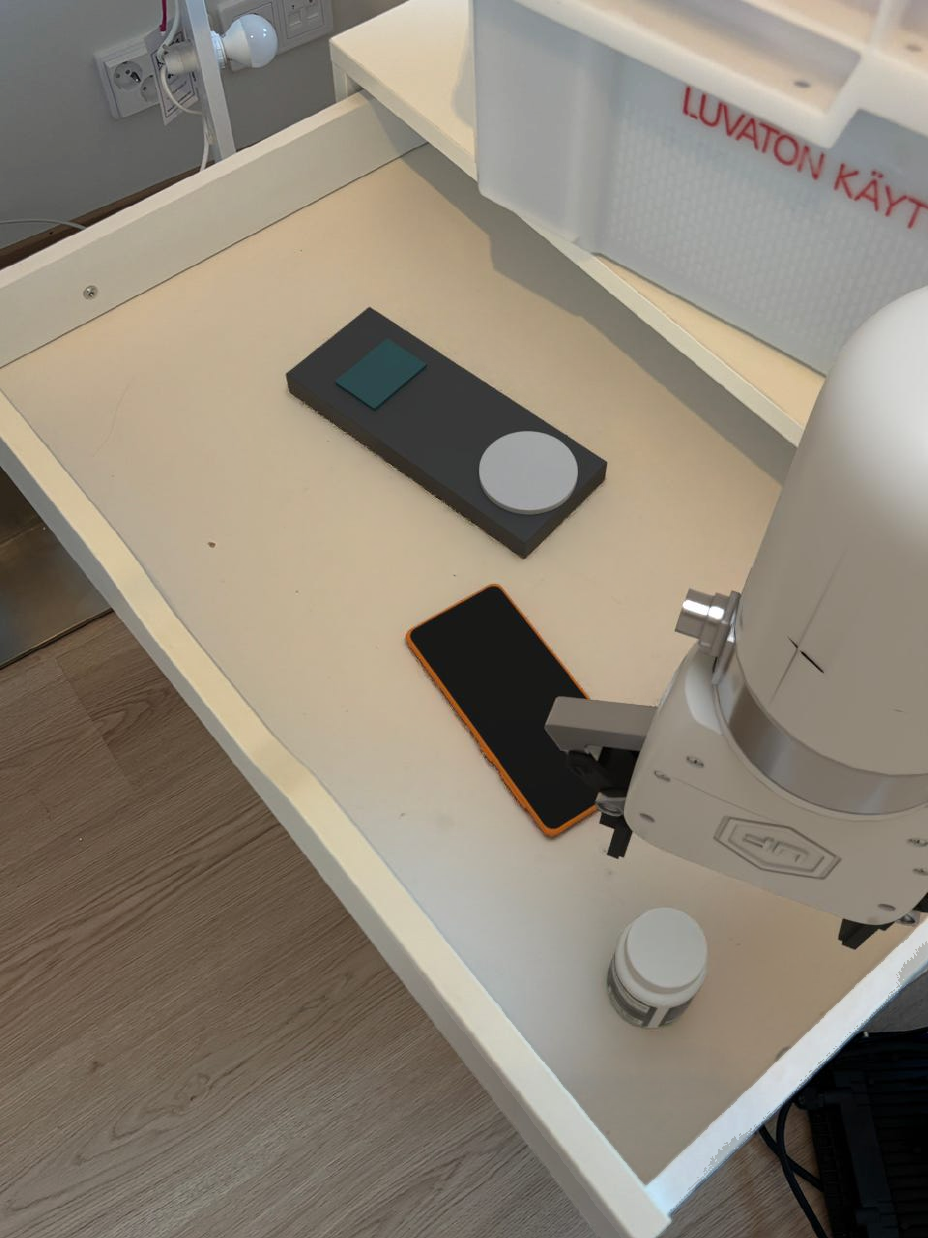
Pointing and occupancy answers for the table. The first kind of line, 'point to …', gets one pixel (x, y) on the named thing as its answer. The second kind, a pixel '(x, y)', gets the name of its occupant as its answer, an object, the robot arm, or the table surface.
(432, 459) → the scale
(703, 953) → the pill bottle
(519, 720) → the smartphone
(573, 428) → the table surface
